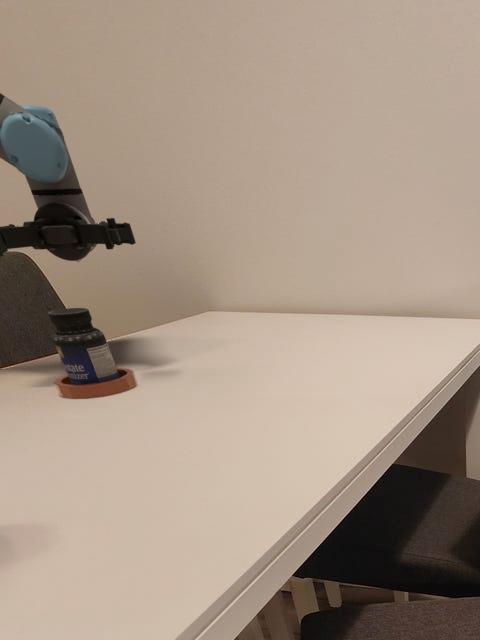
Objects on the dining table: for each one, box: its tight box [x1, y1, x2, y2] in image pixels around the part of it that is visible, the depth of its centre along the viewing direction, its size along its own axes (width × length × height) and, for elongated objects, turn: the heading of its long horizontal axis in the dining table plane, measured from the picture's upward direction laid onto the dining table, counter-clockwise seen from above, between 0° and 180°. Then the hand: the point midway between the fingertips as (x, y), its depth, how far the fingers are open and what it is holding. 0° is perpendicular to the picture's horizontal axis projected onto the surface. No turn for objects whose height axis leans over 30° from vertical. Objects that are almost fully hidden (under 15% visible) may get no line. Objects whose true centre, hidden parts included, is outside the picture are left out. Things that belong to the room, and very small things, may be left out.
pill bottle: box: [47, 307, 120, 385], centre depth 80 cm, size 6×6×11 cm
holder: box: [54, 367, 139, 400], centre depth 83 cm, size 10×10×4 cm
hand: (50, 240), depth 79 cm, fingers open, 13 cm apart
